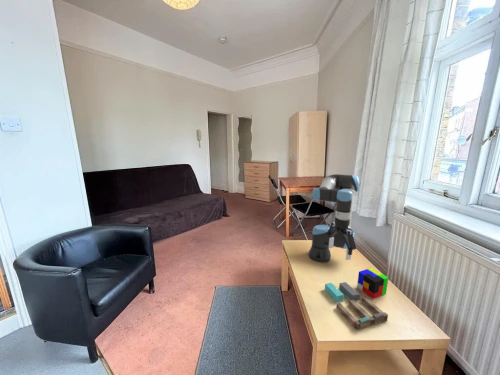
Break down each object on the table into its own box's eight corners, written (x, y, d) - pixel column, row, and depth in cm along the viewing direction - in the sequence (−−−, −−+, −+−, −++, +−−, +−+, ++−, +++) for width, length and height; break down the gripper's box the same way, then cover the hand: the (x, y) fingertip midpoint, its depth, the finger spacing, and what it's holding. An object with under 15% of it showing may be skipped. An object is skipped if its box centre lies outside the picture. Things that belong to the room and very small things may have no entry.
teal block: (324, 290, 116) (325, 283, 115) (330, 288, 117) (331, 282, 116) (336, 303, 106) (337, 296, 105) (343, 301, 107) (343, 294, 107)
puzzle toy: (356, 287, 118) (358, 271, 116) (369, 282, 122) (371, 267, 120) (373, 299, 109) (375, 282, 107) (385, 293, 113) (388, 277, 111)
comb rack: (336, 308, 103) (336, 301, 102) (364, 300, 108) (365, 294, 107) (356, 330, 90) (357, 323, 90) (387, 320, 95) (388, 313, 95)
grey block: (338, 289, 116) (339, 283, 115) (344, 288, 117) (345, 282, 116) (352, 302, 107) (352, 295, 106) (358, 300, 108) (359, 294, 107)
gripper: (322, 211, 124) (319, 244, 129) (354, 227, 101) (350, 266, 106) (332, 210, 127) (329, 242, 131) (366, 225, 103) (362, 263, 108)
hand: (339, 253), depth 118 cm, fingers open, 13 cm apart
